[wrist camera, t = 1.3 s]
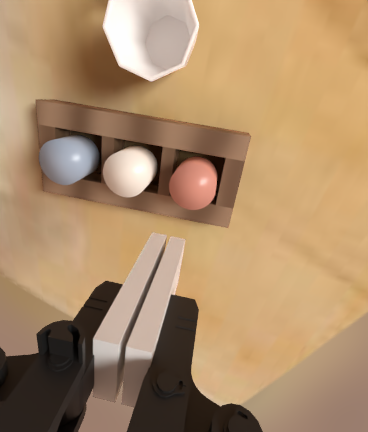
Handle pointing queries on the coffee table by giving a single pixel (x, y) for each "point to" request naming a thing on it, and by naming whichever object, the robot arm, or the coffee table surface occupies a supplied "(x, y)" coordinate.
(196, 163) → the pink egg
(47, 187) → the brown compartment tray
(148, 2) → the cup
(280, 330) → the coffee table surface
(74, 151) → the blue egg
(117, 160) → the cream rounded knob
